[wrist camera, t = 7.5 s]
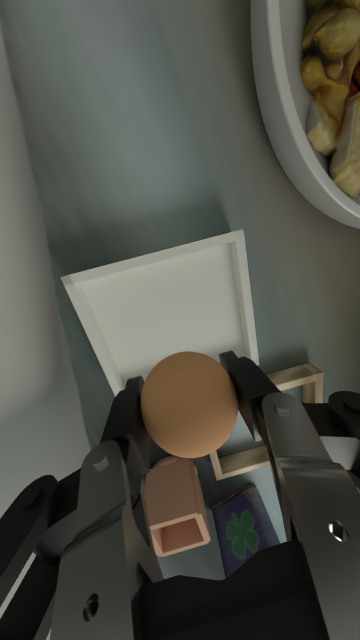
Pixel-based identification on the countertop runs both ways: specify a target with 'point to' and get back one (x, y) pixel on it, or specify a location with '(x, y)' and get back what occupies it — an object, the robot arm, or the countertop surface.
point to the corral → (259, 455)
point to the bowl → (312, 97)
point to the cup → (175, 506)
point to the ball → (189, 404)
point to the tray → (167, 306)
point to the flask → (242, 527)
